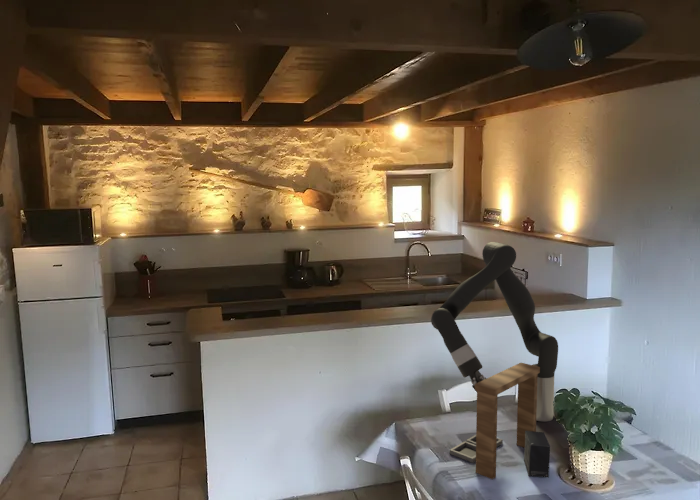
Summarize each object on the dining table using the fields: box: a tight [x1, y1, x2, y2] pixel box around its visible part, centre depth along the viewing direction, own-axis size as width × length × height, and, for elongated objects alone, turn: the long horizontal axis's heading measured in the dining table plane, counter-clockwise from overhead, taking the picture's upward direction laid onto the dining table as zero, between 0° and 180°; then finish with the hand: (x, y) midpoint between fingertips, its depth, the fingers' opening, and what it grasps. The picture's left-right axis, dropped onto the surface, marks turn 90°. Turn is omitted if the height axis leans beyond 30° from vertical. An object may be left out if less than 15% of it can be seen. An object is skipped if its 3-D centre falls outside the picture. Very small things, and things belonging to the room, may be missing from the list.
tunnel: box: [474, 362, 540, 480], centre depth 182 cm, size 29×7×29 cm, turn 135°
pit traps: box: [449, 434, 504, 464], centre depth 192 cm, size 19×9×2 cm, turn 135°
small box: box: [523, 431, 551, 479], centre depth 177 cm, size 11×6×10 cm, turn 171°
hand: (493, 406), depth 187 cm, fingers closed
